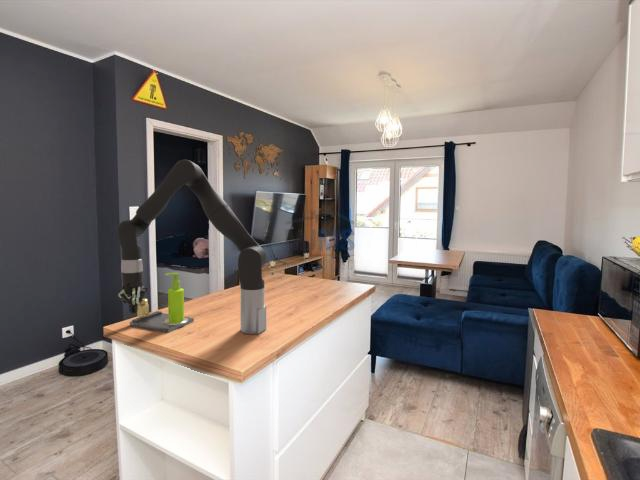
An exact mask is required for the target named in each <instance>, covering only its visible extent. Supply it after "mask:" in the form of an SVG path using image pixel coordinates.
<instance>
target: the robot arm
mask: <svg viewBox="0 0 640 480" xmlns="http://www.w3.org/2000/svg"><path fill="white" fill-rule="evenodd" d="M184 185H186V186H187V187H188V188H189V189H190V191H192V193H194V195H195V196H196V197H197V199H198V201H199V202H200V204H201V208H202V209H203V212H204V214H205V216H206V217H207V219H208V220H209V222H210V223H211V224H212V225H213V227H214V228H215V229H216V230H217V231H218V232H219V233H220V234H221V235H223V236H224V237H225V238H227V239H228V240H229V241H230V242H231V243H233V244H234V245H235V247H236V248H237V250H239V255H238V257H237V258H238V259H237V268H238V269H237V273H238V275H237V276H238V281H239V284H240V286H239V287H240V332H241V333H243V334H247V335H248V334H249V335H256V334H257V335H260V334H261V333H263V332H264V331H265V330H267V305H265V280H264V279H263V274H262V268H263V267H264V266H265V265H266V263H267V259H268V258H267V253H266V251H265V250H264V248H263V247H262V246H261V245H260V244H259V243H258V242H257V241H256V240H255V239H254V237H252V235H251V234H250V233H249V232H248V231H247V229H246V227H244V225H243V224H242V222H241V221H240V219H239V218H238V217H237V216H236V214H235V212H234V211H233V210H232V209H231V207H230V206H229V205H228V203H227V202H226V201H225V200H224V199H223V197H222V196H221V195H220V194H219V193H218V192H217V191H216V190H215V188H214V186H212V184H211V183H210V181H209V179H208V178H207V176H206V175H205V173H204V171H203V169H202V168H201V167H200V166H199V165H198V164H196V163H195V162H193V161H191V160H188V159H181V160H178V161H177V162H176V163H175V164H174V165H173V166H172V168H171V169H170V170H169V172H168V173H167V175H166V176H165V178H164V179H163V180H162V182H161V183H160V184H159V185H158V186H157V188H156V189H155V190H154V191H153V192H152V194H151V195H149V197H148V198H147V199H146V200H145V201H144V202H143V203H142V204H141V205H140V206H139V207H138V208H137V209H136V211H135V215H134V216H133V217H132V218H131V219H130V220H129V219H126V220H122V221H121V222H120V223H119V224H118V226H117V229H116V231H117V233H116V234H117V238H118V242H119V246H120V247H121V248H120V249H121V253H120V254H121V263H120V264H121V265H120V270H121V283H122V286H121V289H122V290H121V291H120V292H117V293H116V296H117V298H119V300H120V301H122V303H123V304H126V305H128V311H129V313H130V314H137V311H138V302H139V301H142V299H144V297H145V295H146V293H147V291H148V289H149V288H148V287H146V286H144V284H143V281H144V265H143V255H142V254H143V253H142V249H143V248H142V246H141V245H140V244H139V243H138V239H137V238H138V237H140V236H141V235H142V234H144V233H145V231H146V230H147V229H148V228H149V227H150V225H151V223H152V222H153V221H154V220H155V219H156V218H157V217H158V216H159V215H160V214H161V213H162V212H163V211H164V210H165V209H166V207H167V206H168V204H169V202H170V200H171V198H172V197H173V195H174V194H175V193H176V192H177V191H178V190H179V189H180V188H182V187H183V186H184Z"/></svg>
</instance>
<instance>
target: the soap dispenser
mask: <svg viewBox="0 0 640 480" xmlns="http://www.w3.org/2000/svg"><path fill="white" fill-rule="evenodd" d="M164 276H165V277H168V276H173V279H172V280H171V282H170V283H171V285H170V287H171V288H169V289H168V290H167V299H168V300H167V301H168V302H167V303H168V304H167V307H168V311H167V312H168V313H167V314H169V323H181V322H183V321H184V317H185V294H184V293H185V289H184V288H183V287H182V288H181V280H180V279H179V276H180V272H167V273H165V274H164Z"/></svg>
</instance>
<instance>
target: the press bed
mask: <svg viewBox="0 0 640 480" xmlns="http://www.w3.org/2000/svg"><path fill="white" fill-rule="evenodd" d="M194 319H195V318H194V317H189V316H184V321H183V322H181V323H169V314H168V313H163V312H162V311H159V310H156V311H154V312H151V313H150V312H149V316H146V317H144V318H142V317H137V318H133V319H131V321H129V326H131V327H137V328H142V329H146V330H153V331H156V332H157V331H159V332H164V333H170V332H174V331H175V330H177V329H179V328H182V327H185V326H187V325H189V324H191V323H194V321H195V320H194Z"/></svg>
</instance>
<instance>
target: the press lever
mask: <svg viewBox="0 0 640 480" xmlns="http://www.w3.org/2000/svg"><path fill="white" fill-rule="evenodd" d="M148 301H149V300H148V298H143V299H142V301H139V302H138V311H137V313H136V314H137V318H139V317H142V318H144V317H146V316H149V314H150V310H149V309H150V307H149V305H150V304H149V303H148Z"/></svg>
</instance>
